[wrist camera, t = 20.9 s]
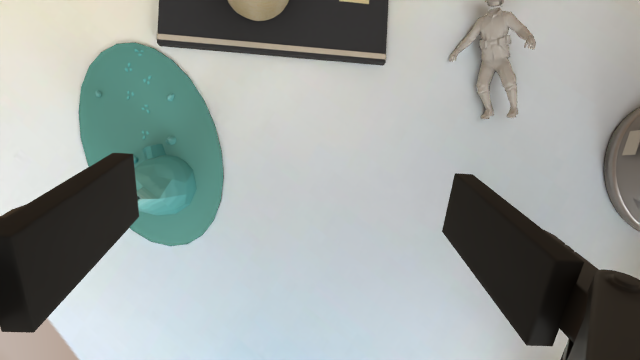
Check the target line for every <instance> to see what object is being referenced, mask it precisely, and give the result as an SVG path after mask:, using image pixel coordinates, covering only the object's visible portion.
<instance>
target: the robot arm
mask: <svg viewBox="0 0 640 360" xmlns="http://www.w3.org/2000/svg"><path fill="white" fill-rule="evenodd" d="M604 175H605V183H606V188H607V192H608V195H609V197H610V200H611V202H612V204H613V206H614V207H615V209H616V211H617V212H618V213H619V215H620V216H621V217H622V218H623V219H624V220H625V221H626V222H627V223H628V224H629V225H631V226H632V227H633V228H635V229H636V230H638V231H640V108H638V109H636V110H634V111H633V112H632V113H630V114H629V115H628V116H627V117H626V118H625V119H624V120H623V121H622V122H621V123H620V124H619V126H618V127H617V128H616V130H615V132H614V133H613V135H612V137H611V139H610V142H609V145H608V148H607V151H606V156H605V164H604ZM138 217H139V209H138V199H137V189H136V178H135V168H134V158H133V154H128V153H111V154H110V155H108V156H106V157H105V158H103V159H101V160H100V161H98V162H96V163H95V164H93V165H92V166H90V167H88V168H87V169H85V170H83V171H82V172H80V173H78V174H77V175H75V176H73V177H72V178H70V179H68V180H67V181H65V182H63V183H62V184H60V185H58V186H57V187H55V188H53V189H52V190H50V191H48V192H47V193H45V194H43V195H42V196H40V197H38V198H37V199H35V200H33V201H32V202H30V203H28V204H27V205H24V206H21V207H18V208H15V209H12V210H11V211H9V212H7V213H6V214H4V215H2V216H0V327H1V330H2V332H35V330H36V329H37V328H38V327H39V326H40V325H41V324H42V323H43V322H44V321H45V320H46V318H47V317H48V316H49V315H50V314H51V313H52V312H53V311H54V310H55V309H56V307H57V306H58V305H59V304H60V303H61V302H62V301H63V300H64V299H65V298H66V296H67V295H68V294H69V293H70V292H71V291H72V290H73V289H74V288H75V287H76V285H77V284H78V283H79V282H80V281H81V280H82V279H83V278H84V277H85V276H86V275H87V273H88V272H89V271H90V270H91V269H92V268H93V267H94V266H95V265H96V264H97V262H98V261H99V260H100V259H101V258H102V257H103V256H104V255H105V254H106V253H107V251H108V250H109V249H110V248H111V247H112V246H113V245H114V244H115V243H116V242H117V240H118V239H119V238H120V237H121V236H122V235H123V234H124V233H125V232H126V231H127V230H128V228H129V227H130V226H131V225H132V224H133V223H134V222H135V221H136V220H137V219H138ZM442 232H443V233H444V235H445V236H446V237H447V239H448V240H449V241H450V243H451V244H452V245H453V247H454V248H455V249H456V251H457V252H458V253H459V255H460V256H461V258H462V259H463V260H464V262H465V263H466V264H467V266H468V267H469V268H470V270H471V271H472V272H473V274H474V275H475V276H476V278H477V279H478V280H479V282H480V283H481V285H482V286H483V287H484V289H485V290H486V291H487V293H488V294H489V295H490V297H491V298H492V299H493V301H494V302H495V303H496V305H497V306H498V308H499V309H500V310H501V312H502V313H503V314H504V316H505V317H506V318H507V320H508V321H509V322H510V324H511V325H512V326H513V328H514V329H515V330H516V332H517V333H518V335H519V336H520V337H521V339H522V340H523V341H524V343H525V344H526V345H531V346H553V343H554V341H555V338H556V335H557V333H558V330H559V328H560V329H561V330H562V331H563V332H564V334H565V335H566V336H567V337H568V338H569V340H568V342H567V345H566V347H565V350H564V352H563V355H562V357H561V360H640V280H639V279H637V278H634V277H632V276H630V275H627V274H624V273H620V272H617V271H612V270H599V269H597V268H596V267H595V266H593V265H592V264H591V263H590V262H588V261H587V260H586V259H584V258H583V257H582V256H580V255H579V254H578V253H577V252H574V250H573V249H571V248H570V247H569V246H567V245H565V243H564V242H562V241H561V240H560V239H558V238H557V237H556V236H554V235H553V234H551V233H549V232H547V231H545V230H543V229H541V228H540V227H539V226H538V225H536V224H535V223H534V222H532V221H531V220H530V219H529V218H527V217H526V216H525V215H524V214H522V213H521V212H520V211H518V210H517V209H516V208H515V207H513V206H512V205H511V204H509V203H508V202H507V201H506V200H504V199H503V198H502V197H501V196H499V195H498V194H497V193H495V192H494V191H493V190H492V189H490V188H489V187H488V186H487V185H485V184H484V183H483V182H481V181H480V180H479V179H478V178H476V177H475V176H474V175H472V174H455V176H454V180H453V185H452V189H451V194H450V198H449V203H448V208H447V212H446V217H445V221H444V226H443V230H442Z"/></svg>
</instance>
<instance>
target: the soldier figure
mask: <svg viewBox="0 0 640 360" xmlns="http://www.w3.org/2000/svg"><path fill="white" fill-rule="evenodd" d="M485 2H487V3H488V5H489V6H499V5H500V6H501V4H503V0H485ZM502 7H503V6H502ZM509 28H510V29H511V30H513V31H515V32H516V34H517V35H518V36H519V37H520V38H522V39H524V40H526V43H525V45H524V48H525V47H526V45H527V44H529V45H528V48H530V49H532V50H533V49H535V46H536V42H535V40H534V36H533V35H532V34H531V33H530V31H529V30H528V29H527V27H526V26H524V25H523V24H522V23H521V22H520V21H519V20H518V19H517V18H516V17H515V16H514V15H513V14H512V12H506V11H502V10H501V9H500V8H496V9H490V10H489V11H488V13H487V15H485V16H482V17H480V18H478V21H477V22H476V23H475V25H474V27H473V28H472V29H471V31H470V33H469V34H468V35H467V36H466V37H465V38H464V39H463V40H462V42H461V43H460V44H459V45H458V46H457V47H456V49H455V50H454V52H453V53H452V54H451V55H450V58H449V61H450V62H451V61H452V62H453V60H454V57H455V61H456V57H457V55H458V53H459V52H461V51H463V50H464V49H465V48H466V47H468V46H469V45H470V44H471V43H472V42H473V41H474V40H475V38H477V37H478V35H480V33H481V35H482V39H480V43H479V47H480V48H481V51H482V56H481V61H482V64H481V67H480V71H479V75H478V81H477V85H476V87H477V89H478V92H477V94H479V95H480V97H481V99H482V101H483V104H484V106H485V108H486V110H485V112H484V114H483V115H482V116H481V119H489V117H490V116H493V115H494V111H493V109H492V105H491V101H490V93H489V84H490V81H491V79H492V77H493V74H494V73H495V71H496V72H497V73H498V75H499V76H500V78H501V82H502V85H503V87H504V88H505V91H506V92H507V96H508V99H509V101H510V105H511V107H510V110H509V113H508V114H507V117H508V118H515V117H516V115H517V114H518V109H517V87H516V85H517V84H516V76H515V74H514V72H513V71H512V67H511V64H510V62H509V60H508V58H509V57H510V53H509V47H508V46H509V45H508V44H511V35H507V34H508V30H509ZM530 44H531V47H530ZM532 45H533V47H532Z"/></svg>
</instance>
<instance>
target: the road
mask: <svg viewBox="0 0 640 360" xmlns="http://www.w3.org/2000/svg"><path fill="white" fill-rule="evenodd" d="M387 18H388V0H289V1H288V4H287V5H286V7H285V8H284V10H283V11H282V12H281V13H280V14H279V15H277V16H275V17H274V18H272V19H269V20H265V21H254V20H251V19H248V18H246V17H243V16H242V15H240V14H238V13H237V12H236V11H235V10H234V9H233V8H232V7H231V5H230V4H229V2H228V0H159V16H158V34H157V43H158V44H159V45H160V46H168V47H179V48H191V49H203V50H214V51H226V52H237V53H249V54H260V55H272V56H283V57H295V58H307V59H318V60H330V61H341V62H353V63H364V64H376V65H384V64H385V59H386V38H387Z"/></svg>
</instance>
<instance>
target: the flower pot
mask: <svg viewBox="0 0 640 360" xmlns="http://www.w3.org/2000/svg"><path fill="white" fill-rule="evenodd" d="M288 1H289V0H228V2H229V4H230V5H231V7H232V8H233V9H234V10H235V11H236V12H237V13H238V14H240V15H242V16H243V17H246V18H248V19H251V20H254V21H265V20H269V19H272V18H274V17H275V16H277V15H279V14H280V13H281V12H282V11H283V10H284V8H285V7H286V5H287V4H288Z"/></svg>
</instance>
